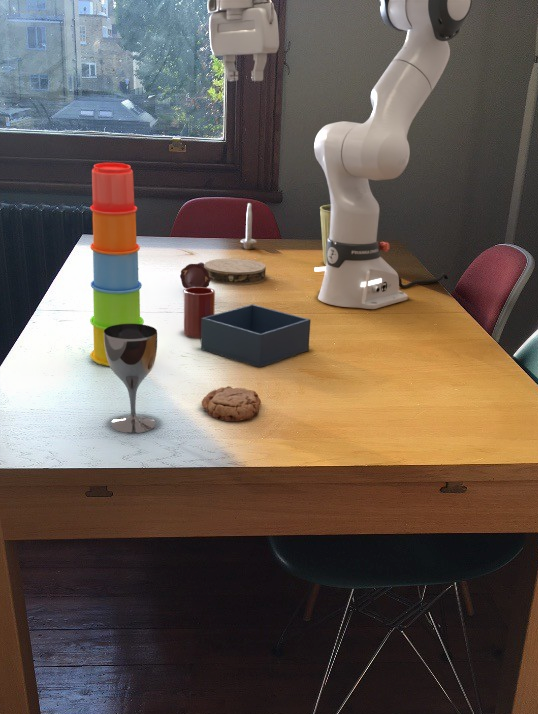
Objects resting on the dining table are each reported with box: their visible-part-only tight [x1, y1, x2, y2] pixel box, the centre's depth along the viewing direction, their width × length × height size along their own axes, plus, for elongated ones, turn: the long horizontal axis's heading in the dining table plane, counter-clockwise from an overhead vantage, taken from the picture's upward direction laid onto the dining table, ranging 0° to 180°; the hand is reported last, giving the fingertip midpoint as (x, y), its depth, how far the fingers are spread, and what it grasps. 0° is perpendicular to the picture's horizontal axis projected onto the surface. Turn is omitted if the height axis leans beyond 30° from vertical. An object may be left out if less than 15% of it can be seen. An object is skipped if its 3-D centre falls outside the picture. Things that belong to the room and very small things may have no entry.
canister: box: [183, 287, 216, 339], centre depth 180 cm, size 6×6×9 cm
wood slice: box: [204, 258, 267, 285], centre depth 227 cm, size 16×16×3 cm
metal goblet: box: [104, 324, 158, 434], centre depth 135 cm, size 8×8×15 cm
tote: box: [200, 303, 312, 368], centre depth 172 cm, size 15×15×6 cm
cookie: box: [201, 385, 262, 422], centre depth 144 cm, size 10×11×3 cm
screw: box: [239, 202, 258, 250], centre depth 257 cm, size 13×5×5 cm
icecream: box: [179, 262, 211, 289], centre depth 211 cm, size 7×7×15 cm
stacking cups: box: [89, 162, 145, 367], centre depth 158 cm, size 10×10×35 cm
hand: (244, 81), depth 171 cm, fingers open, 8 cm apart
